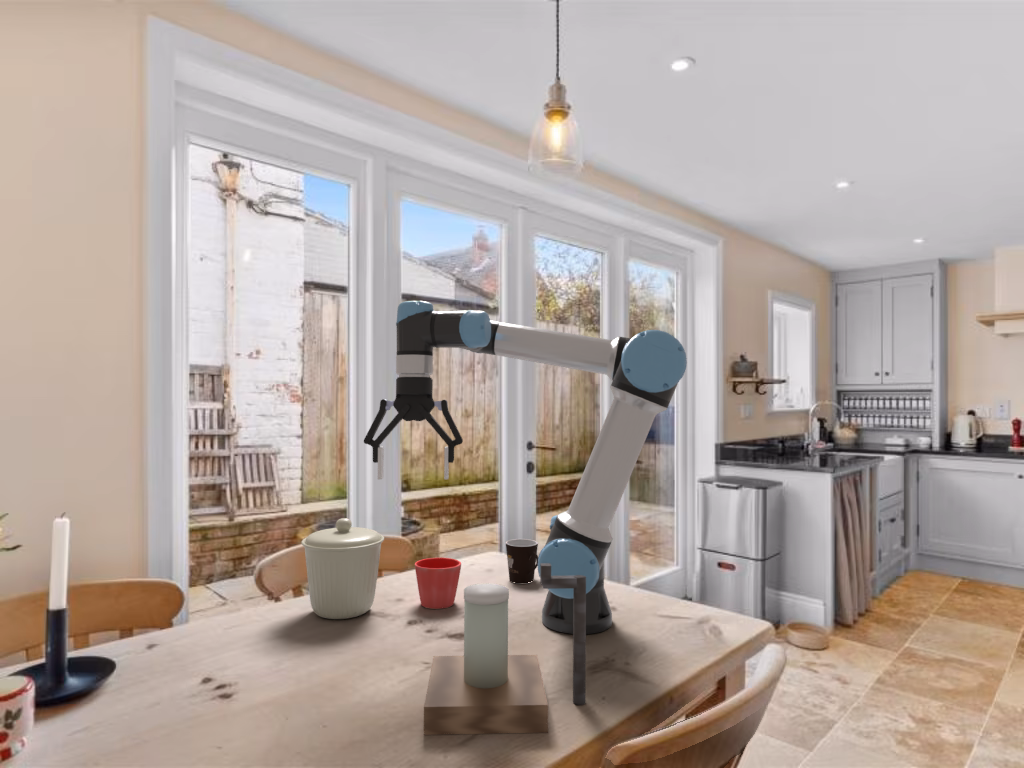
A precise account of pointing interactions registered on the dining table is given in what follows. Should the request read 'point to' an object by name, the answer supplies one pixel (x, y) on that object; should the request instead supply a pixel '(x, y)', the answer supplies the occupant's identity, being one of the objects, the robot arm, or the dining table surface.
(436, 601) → the flower pot
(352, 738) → the dining table surface
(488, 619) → the domed lid bottle
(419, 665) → the dining table surface
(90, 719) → the dining table surface
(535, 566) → the coffee mug
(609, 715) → the dining table surface
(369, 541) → the canister
